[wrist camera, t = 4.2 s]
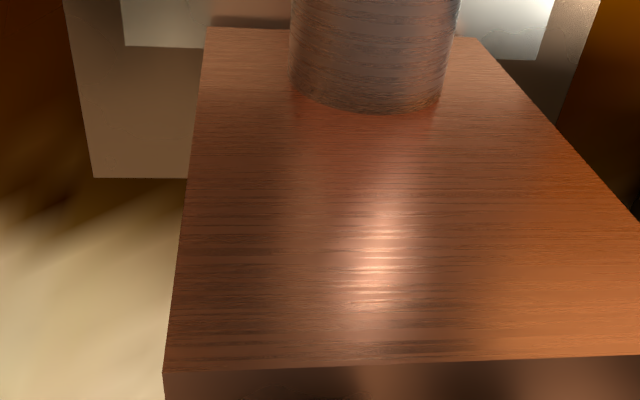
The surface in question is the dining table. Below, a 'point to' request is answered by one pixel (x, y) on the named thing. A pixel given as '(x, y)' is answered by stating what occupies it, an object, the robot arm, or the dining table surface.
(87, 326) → the dining table surface
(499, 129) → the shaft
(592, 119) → the dining table surface
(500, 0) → the bearing housing
